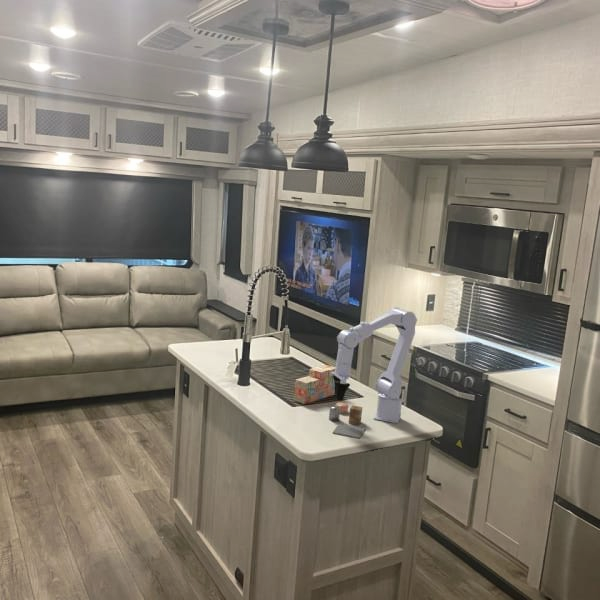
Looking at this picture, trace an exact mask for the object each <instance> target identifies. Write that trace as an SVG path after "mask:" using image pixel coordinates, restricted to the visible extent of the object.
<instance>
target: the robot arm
mask: <svg viewBox="0 0 600 600" xmlns="http://www.w3.org/2000/svg"><path fill="white" fill-rule="evenodd" d="M417 322H418V318H417V317H416V314H415V313H414V312H413V311H408V310H407V309H406V310H405V309H403V308H400V307H396V306H395V307H393V308H392V309H391V308H390V309H388V310H387V311H386V312H385V313H384V314H382V315H381V316H378V317H377V318H376V319H374V320H372V321H370V322H367V321H360V323H359V324H358V325H356V326H355V325H354V327H350V328H349V329H343V330H341V331H340V332H339V333H338V335H336V341H337V343H338V346H337V347H338V350H337V356H336V363H335V366H334V367H335V372H331V374H332V375H333V378H334V384H335V396H336V397H335V398H336V399H335V400H336V401H340V402H343V399H344V397H345V395H346V392H347V390H348V389H349V388H350V386H351V384H350V383H348V382H347V380H348V379H350V377H351V369H352V362H353V357H354V350H355V348H356V347H357V346H358V344H359V343H360V342H361V341H363V340H366V339H367V338H369V337H371V336H372V335H373V334H374V331H376V330H379V329H382V328H384V327H386V326H389V325H394V326H395V327H396V329H397V330H398V333H399V335H398V337H397V341H396V344H395V346H394V349H393V352H392V355H391V358H390V360H389V363H388V366H387V369H386V370H385V371H384V372H382V373H381V374H380V376H379V377H378V379H377V380H376V383H375V390H376V391H377V394H378V398H377V406H376V413H375V415H374V417H373V420H377V421H383V422H387V423H392V424H393V423H394V424H398V423H399V421H400V419H401V415H402V406H403V405H402V402H403V400H402V398H399V397H400V396H401V394H402V390H403V389H402V386H403V380H402V377H401V374H402V371H403V368H404V365H405V362H406V361H407V357H408V354H409V352H410V349H411V345H412V343H413V341H414V337H415V335H416V325H417Z"/></svg>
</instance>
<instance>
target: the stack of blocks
mask: <svg viewBox="0 0 600 600" xmlns="http://www.w3.org/2000/svg"><path fill="white" fill-rule="evenodd" d="M335 367H336V366H331V365H329V364H325V365H320V366H317V367H316V366H315V367H313V368H309V374H308V375H307V376H304V377H300V378H297V379H295V381H294V384H295V385H294V390H293V391H294V392H293V401H295V402H298V403H301V404H303V405H306V404H309V403H310V404H311V403H313V402H316V401H319V400H322V399H326V398H328V397H331V396H334V395H335V396H336V394H335V384H334V378H333V375H332V374H331V372H335Z"/></svg>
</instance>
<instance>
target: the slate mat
mask: <svg viewBox="0 0 600 600" xmlns="http://www.w3.org/2000/svg"><path fill="white" fill-rule="evenodd" d="M365 430H366V428H365V427H362V426H358V425H353V424H345V423H340V422H338V424H337V425H336V427H335V428H334V429H333V431H332V434H334V435H338V436H339V435H340V436H344V437H350V438H353V439H354V438H355V439H360V438H361V437H362V436H363V433H364V432H365Z"/></svg>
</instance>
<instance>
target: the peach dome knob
mask: <svg viewBox="0 0 600 600" xmlns="http://www.w3.org/2000/svg"><path fill="white" fill-rule="evenodd" d="M335 406H339V407H340V415H344V414H345V415H346V414H348V412H349V404H348V403H346V402H337V403H336V404H335Z"/></svg>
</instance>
